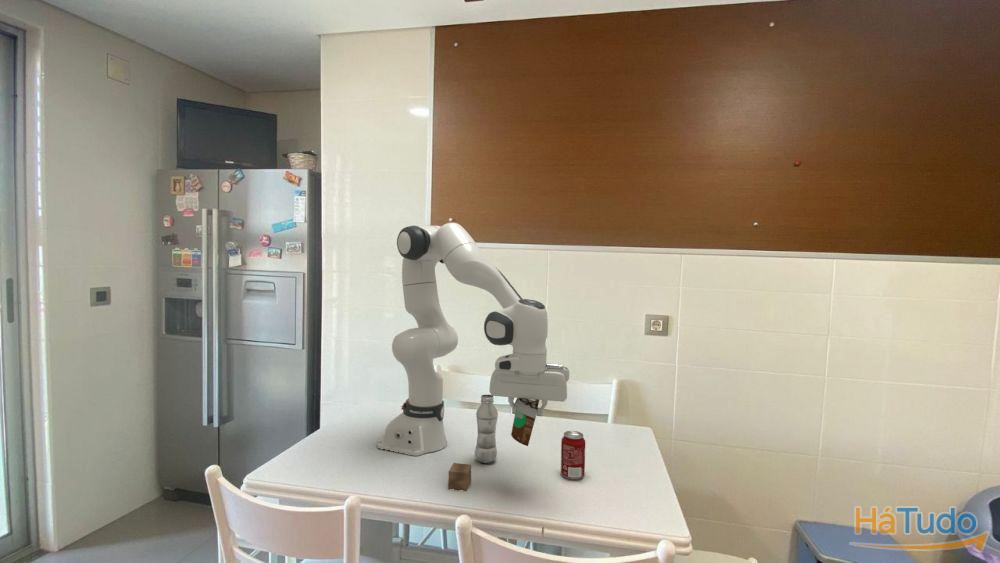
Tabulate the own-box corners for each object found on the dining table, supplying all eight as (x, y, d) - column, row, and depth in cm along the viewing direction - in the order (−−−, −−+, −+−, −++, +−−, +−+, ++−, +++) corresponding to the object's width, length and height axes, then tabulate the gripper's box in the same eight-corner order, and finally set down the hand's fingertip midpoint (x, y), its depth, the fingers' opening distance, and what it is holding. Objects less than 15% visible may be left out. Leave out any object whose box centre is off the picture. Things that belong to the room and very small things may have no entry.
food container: (510, 423, 124) (518, 389, 123) (531, 430, 123) (540, 396, 122) (503, 441, 112) (513, 403, 111) (527, 448, 111) (537, 410, 110)
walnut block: (448, 489, 119) (448, 471, 118) (453, 480, 124) (453, 462, 123) (466, 491, 118) (467, 473, 118) (470, 482, 123) (471, 464, 122)
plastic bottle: (475, 456, 139) (476, 392, 138) (497, 456, 139) (498, 393, 138) (473, 465, 133) (475, 399, 132) (496, 466, 132) (497, 399, 132)
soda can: (584, 482, 124) (585, 440, 123) (559, 479, 125) (560, 437, 124) (584, 471, 130) (585, 431, 130) (561, 468, 132) (562, 428, 131)
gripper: (569, 362, 118) (567, 413, 118) (493, 357, 121) (491, 407, 122) (569, 368, 111) (567, 422, 112) (489, 362, 115) (487, 415, 115)
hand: (527, 414), depth 117 cm, fingers closed on food container, 5 cm apart
